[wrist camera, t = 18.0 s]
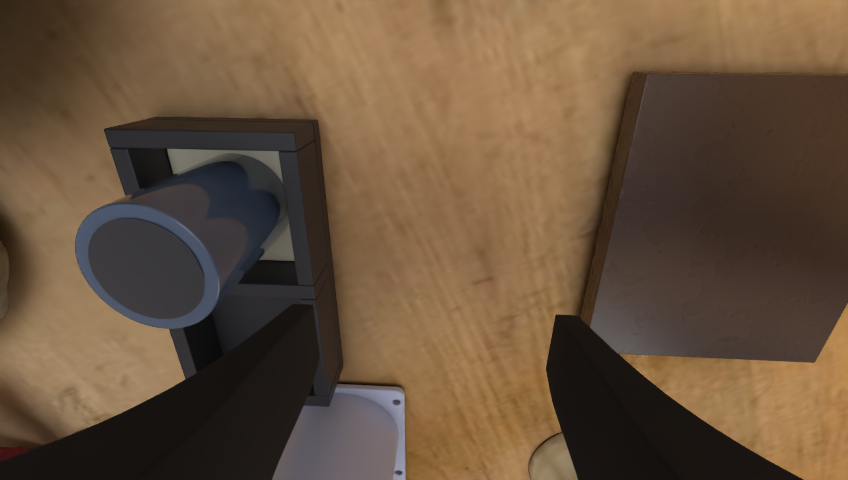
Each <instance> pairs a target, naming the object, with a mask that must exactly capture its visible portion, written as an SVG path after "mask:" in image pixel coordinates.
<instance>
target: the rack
mask: <svg viewBox="0 0 848 480" xmlns="http://www.w3.org/2000/svg"><path fill="white" fill-rule="evenodd" d="M104 132H105V135H106V138H107V141H108V144H109V146H110V147H111V148H110V150H111V153H112V156H113V159H114V162H115V165H116V168H117V171H118V175H119V178H120V181H121V184H122V187H123V190H124V193H125V196H126V195H129V194H131V193H133V192H135V191H137V190H140V189H142V188H144V187H146V186H149V185H151V184H153V183H155V182H157V181H160V180H162V179H164V178H166V177H169V176H171V175H173V174H175V173H178V172H180V171H182V170H184V169H186V168H189V167H191V166H193V165H195V164H198V163H200V162H202V161H204V160H206V159H209V158H211V157H213V156H216V155H219V154H224V153H237V154H243V155H247V156H249V157H252V158H254V159H256V160H259V161H260V162H262V163H263V164H265V165H266V166H268V167H269V168H270V169H271V170H272V171H273V172H274V173H275V174H276V175H277V176H278V177H279V179H280V180H281V181H282V183H283V187H284V193H285V200H286V207H287V213H288V220H289V224H288V226H287V228H286V230H285V232H284V233H283V234H282V235H281V236H280V237H279V239H278V240H277V241H276V242H275V243H274V244H273V245H272V246H271V247H270V248H269V250H268V251H267V252H266V253H265V254H264V255H263V256H262V257H261V258H260V259H259V261H258V262H257V263H256V264H255V265H254V266H253V267H252V268H251V269H250V270H249V271H248V273H247V274H246V275H245V276H244V277H243V278H242V279H241V280H240V281H239V282H238V284H237V285H236V286H235V287H234V288H233V289H232V290H231V291H230V292H229V293H228V295H227V296H226V297H225V298H224V299H223V300H222V301H221V302H220V303H219V304H218V305H217V307H216V308H215V309H214V310H213V311H212V312H211V313H210V314H209V315H208V316H207V317H206V318H205V319H203V320H201V321H200V322H198V323H196V324H193V325H191V326H187V327H183V328H176V329H169V330H170V333H171V336H172V339H173V342H174V345H175V348H176V351H177V354H178V357H179V361H180V364H181V367H182V370H183V373H184V376H185V379H187V378H189V377H191V376H193V375H194V374H196V373H197V372H199V371H201V370H202V369H204V368H205V367H207V366H209V365H210V364H212V363H213V362H215V361H216V360H217V359H219V358H220V357H222V356H223V355H225V354H226V353H228V352H229V351H230V350H232V349H233V348H235V347H236V346H238V345H239V344H241V343H242V342H243V341H245V340H246V339H247V338H249V337H250V336H251V335H253V334H254V333H255V332H257V331H258V330H259V329H261V328H262V327H263V326H265V325H266V324H267V323H268V322H270V321H271V320H272V319H274V318H275V317H276V316H277V315H279V314H280V313H281V312H283V311H284V310H285V309H287V308H288V307H289V306H291V305H292V304H309V305H313V308H314V316H315V323H316V331H317V338H318V346H319V353H320V360H319V363H318V367H317V371H316V374H315V377H314V381H313V384H312V387H311V390H310V392H309V395H308V397H307V399H306V402H305V404H304V406H321V407H329V406H330V404H331V401H332V398H333V395H334V392H335V389H336V386H337V383H338V380H339V377H340V374H341V371H342V368H343V360H342V350H341V341H340V331H339V321H338V311H337V302H336V292H335V282H334V273H333V263H332V253H331V243H330V234H329V224H328V214H327V205H326V195H325V185H324V175H323V166H322V156H321V146H320V136H319V127H318V121H317V120H296V119H239V118H183V117H154V118H149V119H146V120H140V121H136V122H132V123H127V124H123V125H118V126H114V127H110V128H105V129H104Z"/></svg>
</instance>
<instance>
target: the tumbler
mask: <svg viewBox="0 0 848 480" xmlns="http://www.w3.org/2000/svg"><path fill="white" fill-rule="evenodd" d="M288 224H289V220H288V213H287V207H286V200H285V193H284V187H283V183H282V181H281V180H280V179H279V177H278V176H277V175H276V174H275V173H274V172H273V171H272V170H271V169H270V168H269V167H268V166H266V165H265V164H263V163H262V162H260V161H259V160H256V159H254V158H252V157H249V156H247V155H243V154H237V153H224V154H219V155H216V156H213V157H211V158H209V159H206V160H204V161H202V162H200V163H198V164H195V165H193V166H191V167H189V168H186V169H184V170H182V171H180V172H178V173H175V174H173V175H171V176H169V177H166V178H164V179H162V180H160V181H157V182H155V183H153V184H151V185H149V186H146V187H144V188H142V189H140V190H137V191H135V192H133V193H131V194H129V195H126V196H124V197H122V198H120V199H117V200H115V201H113V202H111V203H108V204H106V205H104V206H102V207H100V208H98V209H96V210H94V211H93V212H91V213H90V214H89V215H88V216H87V217H86V218H85V219H84V220H83V222H82V223H81V225H80V227H79V229H78V232H77V235H76V241H75V252H76V257H77V261H78V264H79V267H80V270H81V272H82V274H83V276H84V278H85V279H86V281H87V282H88V284H89V285H90V287H91V288H92V289H93V290H94V292H95V293H96V294H97V295H98V296H99V297H100V298H101V299H102V300H103V301H104V302H105V303H107V304H108V305H109V306H110V307H112V308H113V309H114V310H116V311H117V312H119V313H121V314H122V315H124V316H126V317H128V318H130V319H132V320H134V321H136V322H139V323H141V324H145V325H148V326H152V327H157V328H166V329H176V328H183V327H187V326H191V325H193V324H196V323H198V322H200V321H201V320H203V319H205V318H206V317H207V316H208V315H209V314H210V313H211V312H212V311H213V310H214V309H215V308H216V307H217V305H218V304H219V303H220V302H221V301H222V300H223V299H224V298H225V297H226V296H227V295H228V293H229V292H230V291H231V290H232V289H233V288H234V287H235V286H236V285H237V284H238V282H239V281H240V280H241V279H242V278H243V277H244V276H245V275H246V274H247V273H248V271H249V270H250V269H251V268H252V267H253V266H254V265H255V264H256V263H257V262H258V261H259V259H260V258H261V257H262V256H263V255H264V254H265V253H266V252H267V251H268V250H269V248H270V247H271V246H272V245H273V244H274V243H275V242H276V241H277V240H278V239H279V237H280V236H281V235H282V234H283V233H284V232H285V230H286V228H287V226H288Z"/></svg>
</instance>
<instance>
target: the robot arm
mask: <svg viewBox="0 0 848 480" xmlns="http://www.w3.org/2000/svg"><path fill="white" fill-rule="evenodd" d="M319 360H320V353H319V346H318V338H317V331H316V323H315V316H314V308H313V305H309V304H292V305H291V306H289V307H288V308H287V309H285V310H284V311H283V312H281V313H280V314H279V315H277V316H276V317H275V318H274V319H272V320H271V321H270V322H268V323H267V324H266V325H265V326H263V327H262V328H261V329H259V330H258V331H257V332H255V333H254V334H253V335H251V336H250V337H249V338H247V339H246V340H245V341H243V342H242V343H241V344H239V345H238V346H236V347H235V348H233V349H232V350H230V351H229V352H228V353H226V354H225V355H223V356H222V357H220V358H219V359H217V360H216V361H215V362H213V363H212V364H210V365H209V366H207V367H205V368H204V369H202V370H201V371H199V372H197V373H196V374H194V375H193V376H191V377H189V378H187V379H186V380H184V381H182V382H181V383H179V384H177V385H175V386H174V387H172V388H170V389H168V390H166V391H165V392H163V393H161V394H159V395H157V396H155V397H153V398H151V399H149V400H147V401H145V402H143V403H141V404H139V405H137V406H135V407H133V408H131V409H129V410H127V411H125V412H123V413H121V414H119V415H116V416H114V417H112V418H110V419H107V420H105V421H103V422H101V423H99V424H96V425H94V426H91V427H89V428H87V429H84V430H82V431H80V432H77V433H75V434H72V435H70V436H67V437H65V438H62V439H60V440H57V441H54V442H52V443H49V444H46V445H44V446H41V447H38V448H36V449H33V450H30V451H27V452H25V453H22V454H19V455H17V456H14V457H11V458H8V459H5V460H2V461H0V480H406V449H405V393H404V390H403V389H401V388H400V387H389V386H369V385H350V384H337V386H336V389H335V392H334V395H333V398H332V401H331V404H330V406H329V407H321V406H304V404H305V402H306V399H307V397H308V395H309V392H310V390H311V387H312V384H313V381H314V377H315V374H316V371H317V367H318V363H319ZM546 371H547V377H548V382H549V388H550V393H551V397H552V402H553V405H554V408H555V411H556V414H557V418H558V421H559V424H560V427H561V430H562V433H563V436H564V439H565V442H566V445H567V448H568V451H569V454H570V457H571V460H572V463H573V466H574V469H575V472H576V475H577V478H578V480H803V479H801V478H799V477H798V476H796V475H794V474H792V473H790V472H788V471H786V470H785V469H783V468H781V467H779V466H777V465H775V464H774V463H772V462H770V461H768V460H766V459H765V458H763V457H761V456H759V455H758V454H756V453H754V452H752V451H751V450H749V449H747V448H746V447H744V446H742V445H741V444H739V443H738V442H736V441H734V440H733V439H731V438H729V437H728V436H726V435H725V434H723V433H721V432H720V431H718V430H717V429H715V428H713V427H712V426H710V425H709V424H707V423H706V422H704V421H703V420H701V419H700V418H698V417H697V416H696V415H694V414H693V413H691V412H690V411H689V410H687V409H686V408H684V407H683V406H682V405H680V404H679V403H677V402H676V401H675V400H673V399H672V398H671V397H669V396H668V395H667V394H665V393H664V392H663V391H661V390H660V389H659V388H658V387H656V386H655V385H654V384H653V383H651V382H650V381H649V380H648V379H647V378H645V377H644V376H643V375H642V374H640V373H639V372H638V371H637V370H636V369H635V368H633V367H632V366H631V365H630V364H629V363H628V362H627V361H625V360H624V359H623V358H622V357H621V356H620V355H619V354H618V353H617V352H615V351H614V350H613V349H612V348H611V347H610V346H609V345H608V344H607V343H606V342H605V341H604V340H603V339H602V338H601V337H599V336H598V335H597V334H596V333H595V332H594V331H593V330H592V329H591V328H590V327H589V326H588V325H587V324H586V323H585V322H584V321H583V320H582V319H580V318H579V317H578V316H576V315H556V316H555V322H554V327H553V333H552V338H551V344H550V349H549V355H548V360H547V366H546ZM396 399H397V400H398V401H397V400H396Z"/></svg>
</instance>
